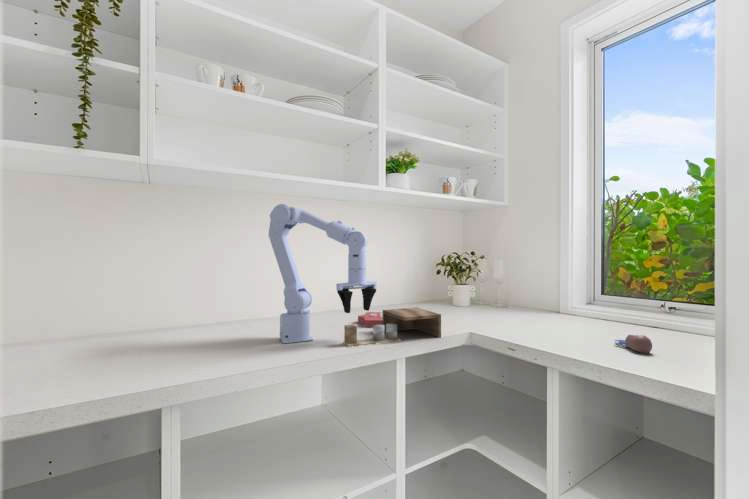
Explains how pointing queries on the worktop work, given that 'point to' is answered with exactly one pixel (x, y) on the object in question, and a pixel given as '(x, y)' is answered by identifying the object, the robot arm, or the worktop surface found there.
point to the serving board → (378, 335)
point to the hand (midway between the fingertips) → (357, 311)
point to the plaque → (371, 319)
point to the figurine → (637, 343)
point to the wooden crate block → (413, 320)
